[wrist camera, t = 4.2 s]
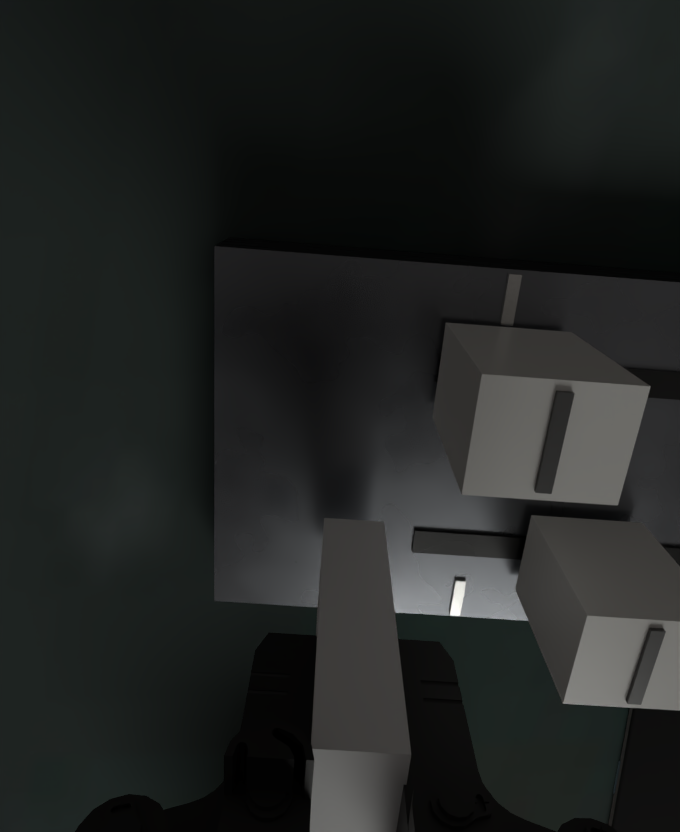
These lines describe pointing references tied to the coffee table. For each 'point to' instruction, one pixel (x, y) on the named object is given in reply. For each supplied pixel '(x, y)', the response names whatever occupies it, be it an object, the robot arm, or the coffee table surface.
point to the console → (405, 414)
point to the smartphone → (648, 773)
